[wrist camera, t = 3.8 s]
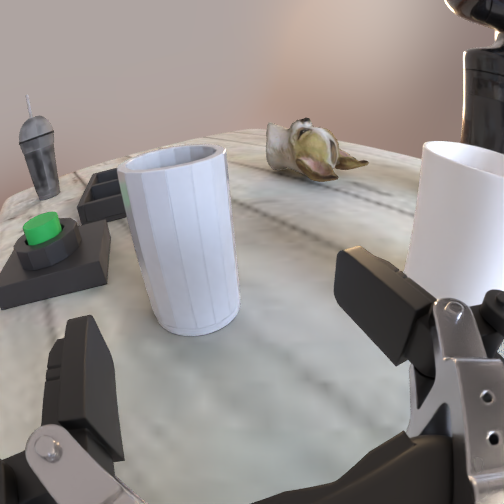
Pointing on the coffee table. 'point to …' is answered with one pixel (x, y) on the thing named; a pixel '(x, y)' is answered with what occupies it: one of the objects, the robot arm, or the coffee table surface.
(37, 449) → the robot arm
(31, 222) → the button
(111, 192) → the compartment tray
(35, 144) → the beverage cup
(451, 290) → the mug
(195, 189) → the tumbler
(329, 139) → the ceramic sculpture
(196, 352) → the coffee table surface
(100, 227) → the control box
